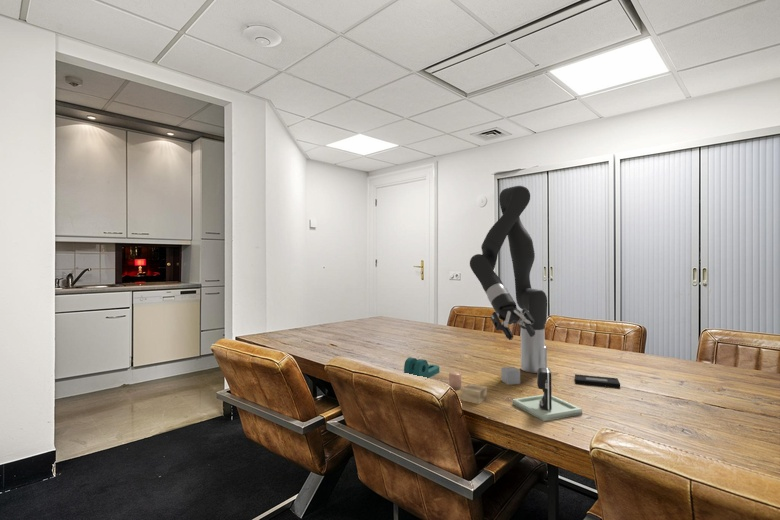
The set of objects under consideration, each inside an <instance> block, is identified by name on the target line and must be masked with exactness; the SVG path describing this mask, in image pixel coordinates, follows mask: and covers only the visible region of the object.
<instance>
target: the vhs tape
mask: <svg viewBox="0 0 780 520" xmlns="http://www.w3.org/2000/svg"><path fill="white" fill-rule="evenodd" d="M574 382H575V384H576V385H585V386H594V387H603V388H612V389H613V388H615V389H621V383H620V381H619V378H617V377H609V376H598V375H597V376H596V375H586V374H577V373H575V374H574Z"/></svg>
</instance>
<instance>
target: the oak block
mask: <svg viewBox="0 0 780 520" xmlns="http://www.w3.org/2000/svg"><path fill="white" fill-rule="evenodd" d="M487 399H488V388H487V386H482V385H479V384H478V385H477V384H471V383H469V384H468V385H466V386H464V387H462V388H461V401H464V402H469V403H473V404H476V405H480V404H481V403H483V402H484V401H487Z"/></svg>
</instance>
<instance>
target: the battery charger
mask: <svg viewBox="0 0 780 520" xmlns="http://www.w3.org/2000/svg"><path fill="white" fill-rule="evenodd" d="M536 378H537V379H536V383H537V387H538V389H539V390H541V391H542V392H543V394H542V395H543V398H542V399H541V400H540V408H541V409H546V410H551V409H552V395H553V394H552V371H551V368H549V367H547V368H539V369H538V371H537V374H536Z"/></svg>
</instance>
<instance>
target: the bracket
mask: <svg viewBox="0 0 780 520" xmlns="http://www.w3.org/2000/svg"><path fill="white" fill-rule="evenodd" d="M440 371H441V370H440V366H439V365H437V364H429V363H428V361H427V359H422V358H418V359H417V358H415V357H411V356H410V357H407V358H406V360H405V361H404V365H403V374H404V373H409V374H413V375H417V376H423V377H427V379H429V378H432V377H434V376H435V375H438V374H439V373H440Z"/></svg>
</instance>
